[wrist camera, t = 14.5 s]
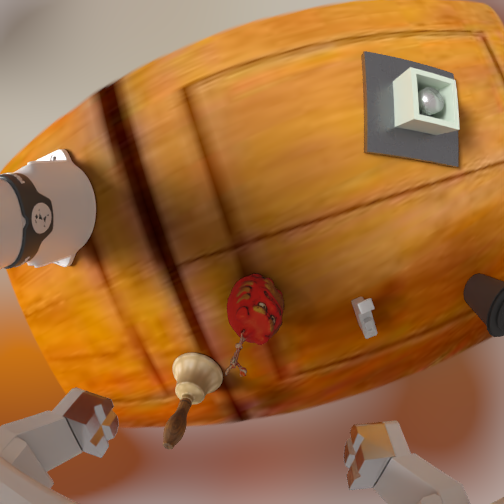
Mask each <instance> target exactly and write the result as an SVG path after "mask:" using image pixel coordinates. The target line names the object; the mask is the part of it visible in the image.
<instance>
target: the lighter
mask: <svg viewBox="0 0 504 504" xmlns="http://www.w3.org/2000/svg"><path fill="white" fill-rule="evenodd" d="M351 302H352V305H353V308H354V312H355V315H356V318H357V321H358V324H359V326H360V328H361V330H362V332H363V334H364V336H365V338H366V339H368V338H370V337H372V336H375V335H377V330H376V326H375V323H374V319H373V316H372V312H371V310H373V309H375V308H374V305H373V302H372V299H371V298H369V299H365V300H364V298H363V297H362V296H361V297H358V298H356V299H353V300H352V301H351Z"/></svg>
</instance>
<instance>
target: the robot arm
mask: <svg viewBox="0 0 504 504" xmlns="http://www.w3.org/2000/svg"><path fill="white" fill-rule="evenodd" d="M55 159H56V160H55ZM95 218H96V201H95V195H94V191H93V188H92V185H91V183H90V181H89V179H88V178H87V176H86V175H85V173H84V172H83V171H82V170H81V169H80V168H78V167H77V166H76V165H75V164H74V163H73V162H72V160H71V158H70V156H69V154H68V152H67V151H66V150H65V149H59V150H56V151H54V152H52V153H50V154H48V155H46V156H44V157H42V158H40V159H38V160H36V161H31V162H29V163H28V165H26V166H24V167H22V168H20V169H19V170H17V171H16V172H14V173H4V174H1V175H0V269H2V268H6V269H8V268H12V267H18V266H20V265H23V264H24V263H26V262H27V263H28V265H31V266H32V265H34V266H35V267H36V268H38V267H42V266H45V265H48V264H50V263H55V264H57V265H60V266H63V267H67V266H70V265H71V264H72V262H73V260H74V257H75V255H76V253H77V251H78V250H79V249H80V248H81V247H83V246H84V245H85V243H86V242H87V241H88V239H89V238H90V236H91V233H92V231H93V228H94V224H95ZM113 407H114V406H113V403H112V400H111V399H109V398H106V397H103V396H100V395H97V394H94V393H91V392H88V391H85V390H82V389H79V388H73V389H72V390H71V391H70V392H69V393H68V394H67V395H66V396H65V397H64V398H63V400H62V401H61V402H60V403H59V404H58V405H57V406H56V407H55V409H53V411H52V412H51V411H46V412H43V413H40V414H37V415H34V416H31V417H28V418H24V419H21V420H18V421H15V422H12V423H8V424H5V425H2V426H1V427H0V504H79V503H77V502H75V501H73V500H71V499H69V498H66V497H65V496H63V495H61V494H59V493H57V492H55V491H54V490H52V489H50V488H51V487H52V485H53V484H54V483H53V480H52V479H51V478H50V476H49V475H48V473H47V471H49V470H51V469H53V468H55V467H56V466H58V465H60V464H62V463H64V462H66V461H67V460H69V459H71V458H73V457H75V456H76V455H78V454H80V453H82V451H84V452H86V453H89V454H92V455H95V456H97V457H100V458H102V456H103V455H104V453H105V451H106V450H107V448H108V447H109V444H108V440H110V439H112V438H114V437H115V435H116V433H117V429H118V426H119V425H118V418H117V415H116V414H115V413H114V412H113V411H112V408H113ZM350 435H351V438H350V439H348V440H347V441H346V444H345V449H344V462H345V466H346V467H348V468H349V471H348V473H347V482H348V488H349V490H355V489H364V488H373V489H374V490H375V491H376V492H377V493H378V494H379V495H380V496H381V497H382V498H383V500H384V501H386V503H387V504H470V502H469V499H468V497H467V495H466V492H465V490H464V487H463V485H462V484H461V483H459V482H458V481H456V480H454V479H453V478H451V477H450V476H448V475H446V474H445V473H443V472H442V471H440V470H439V469H437V468H436V467H434V466H433V465H431V464H430V463H428V462H427V461H425V460H424V459H422V458H421V457H419V456H418V455H416V454H411V453H410V450H409V448H408V445H407V443H406V440H405V438H404V435H403V433H402V430H401V428H400V425H399V423H398V422H397V421H388V422H378V423H367V424H355V425H353V426H352V428H351V430H350ZM491 504H504V497H503V498H501V499H499V500H497V501H495V502H493V503H491Z"/></svg>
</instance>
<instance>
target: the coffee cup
mask: <svg viewBox="0 0 504 504" xmlns="http://www.w3.org/2000/svg"><path fill="white" fill-rule="evenodd" d="M464 300H465V301H466V303H467V304H468V305H469V306H470V307H471V308H472V310H473V311H474V312H475V313H476V314H477V315H478V316H479V317H480V319H481V320H482V321H483V322H484V323H485V324H486V326H487V330H488V332H489V334H490V335H492V336H494V337H497V336H498V337H500V336H504V282H503V281H501V280H498V279H495V278H492V277H489V276H486V275H483V274H479V273H478V274H475V275H473V276H472V277H471V278H470V279H469V280H468V282H467V283H466V285H465V289H464Z"/></svg>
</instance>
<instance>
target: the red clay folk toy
mask: <svg viewBox="0 0 504 504" xmlns="http://www.w3.org/2000/svg"><path fill="white" fill-rule="evenodd" d="M283 310H284V300H283V295H282V292H281V291H280V290H278V289H276V288H275V286H274V282H273V281H272V279H270V278H265V277H263V276H262V275H260V274H258V273H254V274H251V275H249V276H246V277H243V278H241V279H240V280H239V281H237V282H236V284H235V285H234V287H233V289H232V291H231V294H230V296H229V298H228V303H227V314H228V320H229V323H230V325H231V327H232V328H233V329H234V331H235V332H236V333H237V335H238V336H239V337H240V343H237V344H235V345H236V348H237V350H236V352H235V353H234V356H233V358H232V359H231V362H230V363H231V364H230V366H229V367H228V368H227V370H226V372H225V375H226V376H227V375H228V372H229V371H230V369H231V368H235V367H236V365H237V366H238V367H239V369H240V376H241V377H242V376H246V373H247V370H246V368H243V367H242V366H240V364H239V363H238V362H237V360H238V355H239V351H240V350H241V349H242V344H243V342H244V341H247V342H250V343H257V344H258V345H262V344H264V343H266V342H267V341H268V340H269V339H270V338H271V337H272V336H273V335H274V334H275V333H276V332H277V331H278V330H279V328H280V326H281V325H282V314H283Z"/></svg>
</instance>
